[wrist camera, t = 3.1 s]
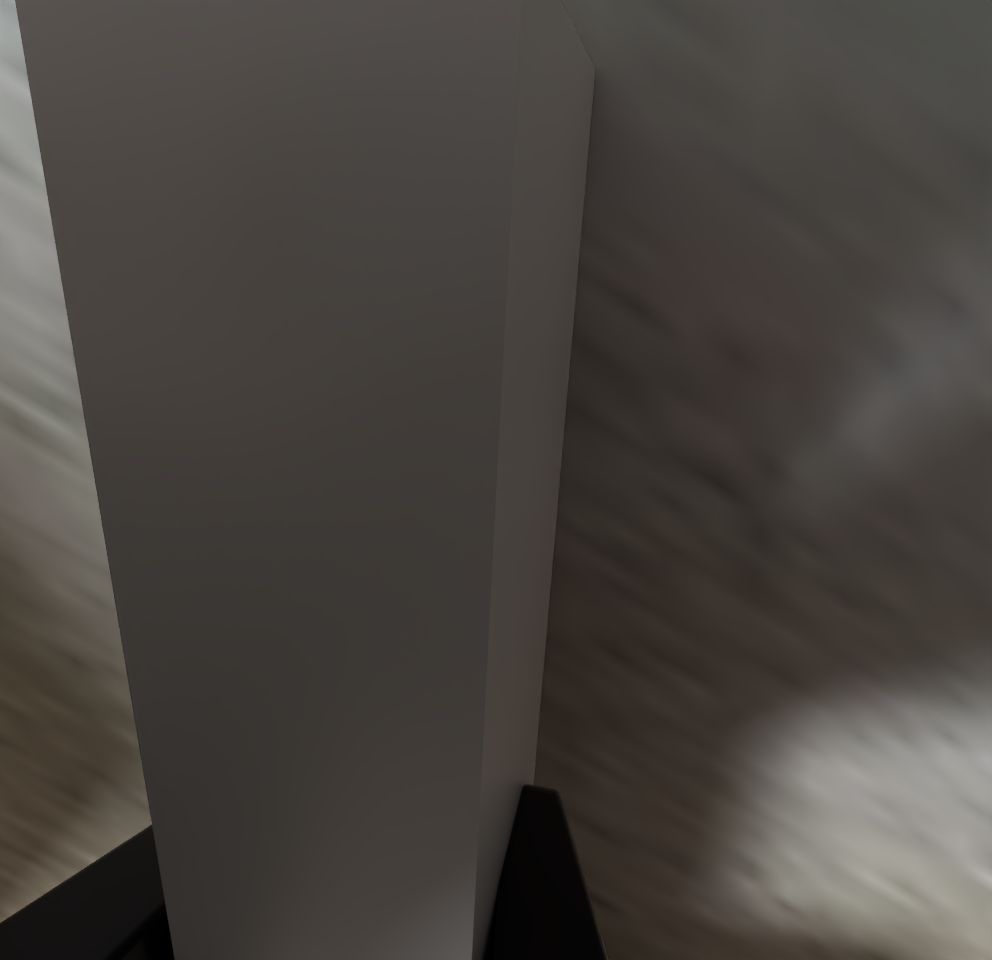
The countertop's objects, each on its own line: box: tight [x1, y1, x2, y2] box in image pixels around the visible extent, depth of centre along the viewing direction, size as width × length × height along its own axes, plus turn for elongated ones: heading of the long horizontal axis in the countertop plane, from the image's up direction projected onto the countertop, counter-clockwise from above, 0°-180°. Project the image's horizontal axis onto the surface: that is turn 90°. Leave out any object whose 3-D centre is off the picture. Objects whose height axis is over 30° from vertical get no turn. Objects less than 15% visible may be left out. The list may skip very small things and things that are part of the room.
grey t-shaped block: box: [15, 0, 596, 960], centre depth 8 cm, size 8×13×4 cm, turn 177°
